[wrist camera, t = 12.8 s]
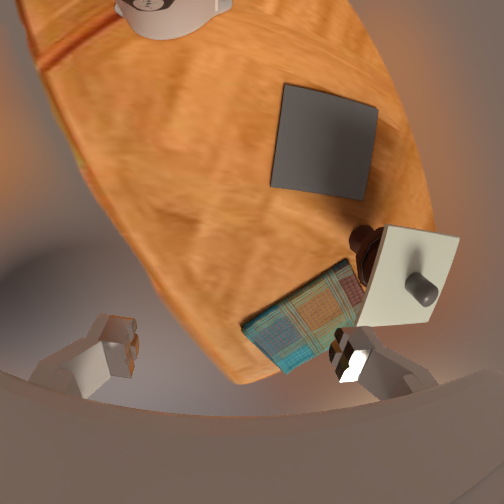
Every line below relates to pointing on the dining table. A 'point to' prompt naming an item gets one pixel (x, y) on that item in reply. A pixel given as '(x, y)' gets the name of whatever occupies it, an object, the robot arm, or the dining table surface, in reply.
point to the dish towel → (307, 318)
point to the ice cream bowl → (365, 250)
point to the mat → (323, 144)
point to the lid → (406, 276)
